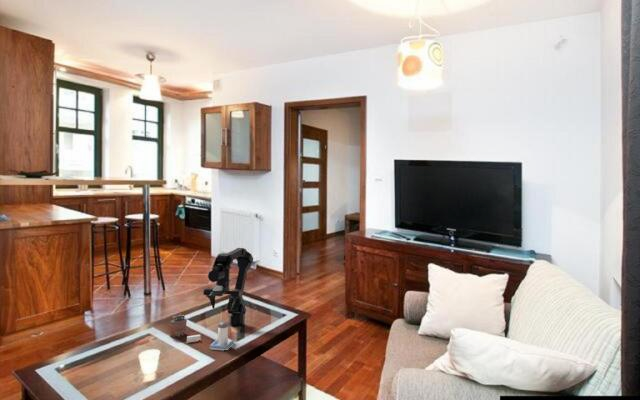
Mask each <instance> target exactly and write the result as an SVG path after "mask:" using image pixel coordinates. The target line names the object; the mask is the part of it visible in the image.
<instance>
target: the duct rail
mask: <svg viewBox="0 0 640 400" xmlns="http://www.w3.org/2000/svg"><path fill="white" fill-rule="evenodd" d="M201 336H202V335H201V334H194V335H188V336H186V343H194V342H200V341H201ZM199 340H200V341H199Z"/></svg>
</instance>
